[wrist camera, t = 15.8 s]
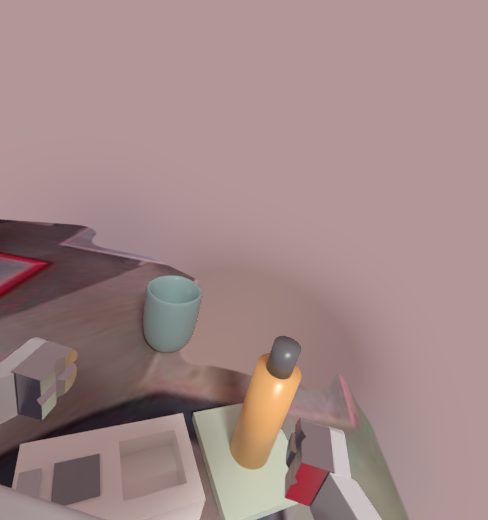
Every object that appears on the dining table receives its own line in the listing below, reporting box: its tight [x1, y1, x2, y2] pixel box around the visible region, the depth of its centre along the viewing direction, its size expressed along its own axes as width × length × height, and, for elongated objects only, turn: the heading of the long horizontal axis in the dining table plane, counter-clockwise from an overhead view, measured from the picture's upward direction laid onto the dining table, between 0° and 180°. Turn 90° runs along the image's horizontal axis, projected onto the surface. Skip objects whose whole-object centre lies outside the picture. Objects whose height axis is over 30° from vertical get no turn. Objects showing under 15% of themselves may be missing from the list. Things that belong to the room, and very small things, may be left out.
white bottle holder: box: [12, 413, 206, 520], centre depth 29 cm, size 15×9×4 cm, turn 113°
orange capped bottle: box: [230, 336, 301, 470], centre depth 33 cm, size 4×4×15 cm
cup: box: [143, 275, 202, 353], centre depth 48 cm, size 8×8×10 cm
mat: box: [192, 403, 298, 520], centre depth 36 cm, size 12×10×1 cm
